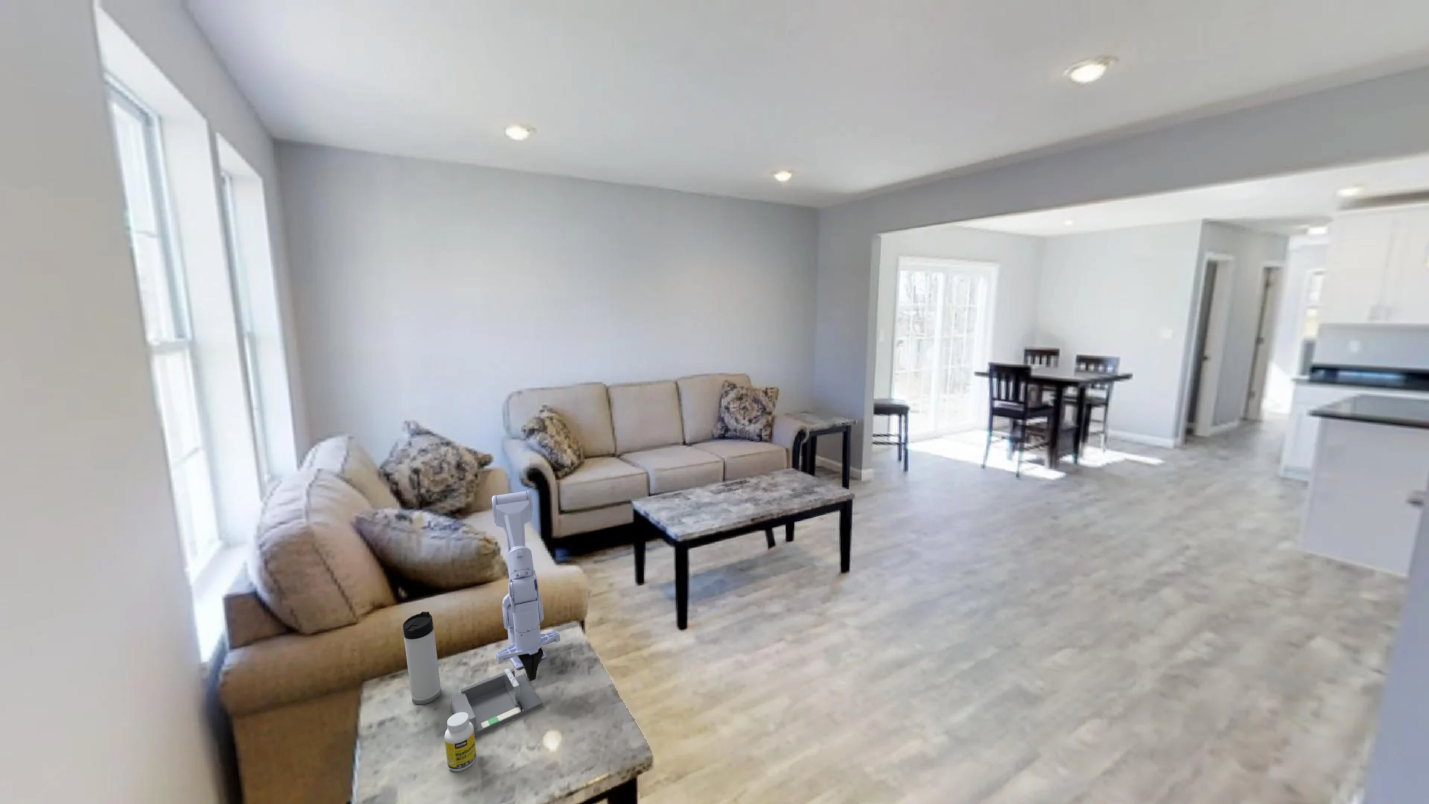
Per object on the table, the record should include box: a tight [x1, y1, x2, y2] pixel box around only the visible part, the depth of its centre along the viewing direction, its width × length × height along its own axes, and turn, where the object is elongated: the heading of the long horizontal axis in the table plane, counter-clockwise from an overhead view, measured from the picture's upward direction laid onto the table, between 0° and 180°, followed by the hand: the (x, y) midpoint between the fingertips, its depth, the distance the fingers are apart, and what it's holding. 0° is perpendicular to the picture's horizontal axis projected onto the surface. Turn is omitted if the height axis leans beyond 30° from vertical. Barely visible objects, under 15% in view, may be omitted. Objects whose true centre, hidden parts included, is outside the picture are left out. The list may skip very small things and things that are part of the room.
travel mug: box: [402, 611, 442, 705], centre depth 132 cm, size 6×7×20 cm
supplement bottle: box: [444, 712, 477, 772], centre depth 112 cm, size 5×5×10 cm
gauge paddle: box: [503, 667, 523, 710], centre depth 129 cm, size 11×1×5 cm, turn 37°
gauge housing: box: [449, 668, 543, 738], centre depth 128 cm, size 13×17×4 cm
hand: (531, 678), depth 133 cm, fingers closed
